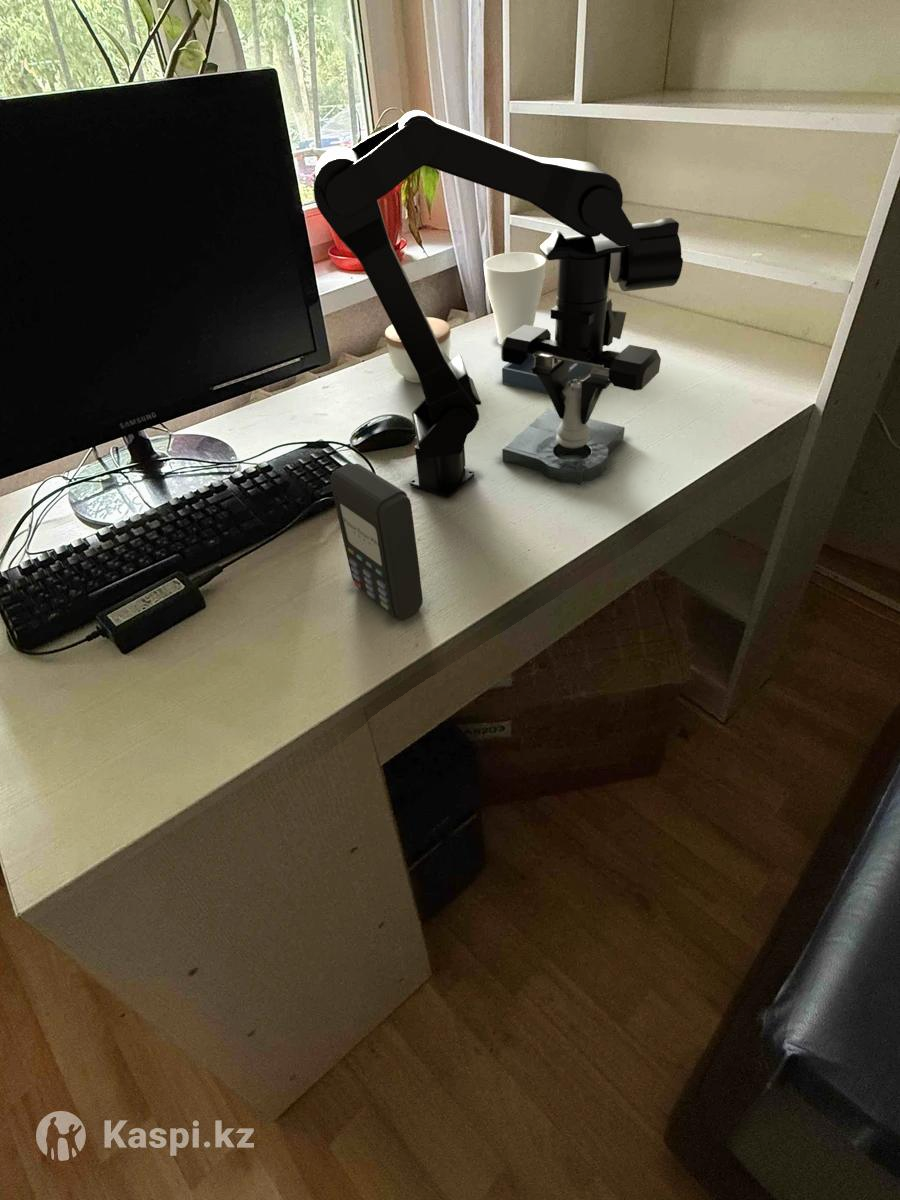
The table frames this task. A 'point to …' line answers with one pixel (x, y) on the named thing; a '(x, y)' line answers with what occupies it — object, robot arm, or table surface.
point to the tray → (527, 380)
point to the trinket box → (400, 354)
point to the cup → (514, 289)
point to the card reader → (378, 538)
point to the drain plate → (563, 449)
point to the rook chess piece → (572, 419)
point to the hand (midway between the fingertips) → (574, 420)
